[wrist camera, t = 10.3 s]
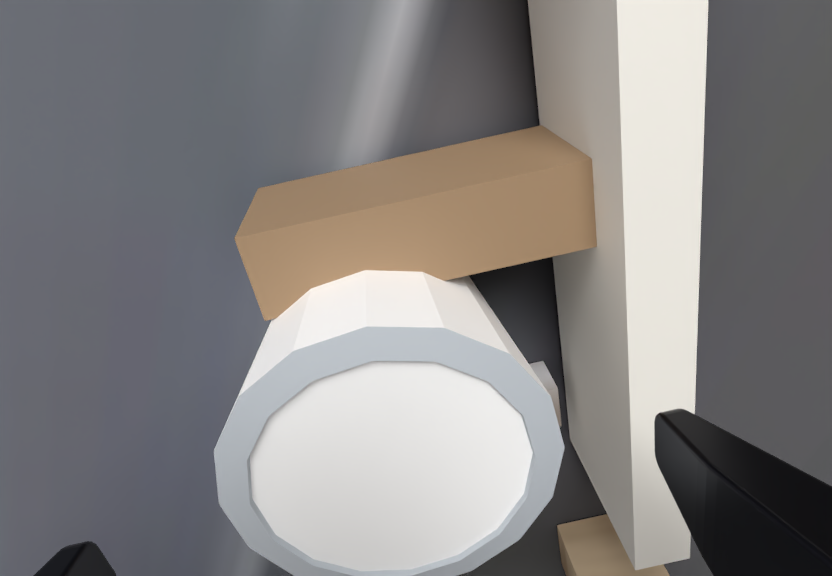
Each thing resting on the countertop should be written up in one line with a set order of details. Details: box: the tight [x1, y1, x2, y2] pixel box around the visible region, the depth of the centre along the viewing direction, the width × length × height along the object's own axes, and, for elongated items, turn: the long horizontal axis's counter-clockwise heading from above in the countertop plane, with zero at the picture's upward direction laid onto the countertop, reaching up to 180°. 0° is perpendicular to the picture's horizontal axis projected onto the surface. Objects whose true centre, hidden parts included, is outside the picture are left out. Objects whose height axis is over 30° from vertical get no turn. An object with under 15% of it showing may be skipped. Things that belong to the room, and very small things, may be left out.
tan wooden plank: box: [529, 361, 670, 576], centre depth 13 cm, size 34×12×6 cm, turn 11°
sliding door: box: [234, 0, 708, 570], centre depth 14 cm, size 18×9×5 cm, turn 11°
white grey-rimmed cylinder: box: [214, 270, 565, 576], centre depth 14 cm, size 7×7×7 cm
